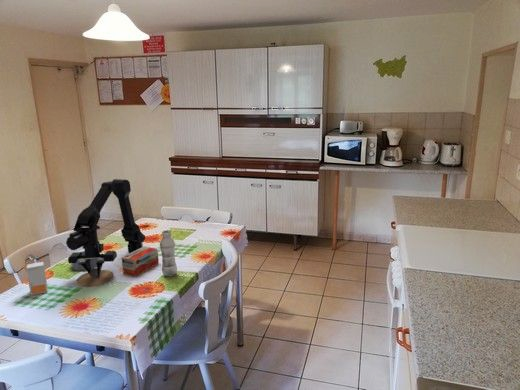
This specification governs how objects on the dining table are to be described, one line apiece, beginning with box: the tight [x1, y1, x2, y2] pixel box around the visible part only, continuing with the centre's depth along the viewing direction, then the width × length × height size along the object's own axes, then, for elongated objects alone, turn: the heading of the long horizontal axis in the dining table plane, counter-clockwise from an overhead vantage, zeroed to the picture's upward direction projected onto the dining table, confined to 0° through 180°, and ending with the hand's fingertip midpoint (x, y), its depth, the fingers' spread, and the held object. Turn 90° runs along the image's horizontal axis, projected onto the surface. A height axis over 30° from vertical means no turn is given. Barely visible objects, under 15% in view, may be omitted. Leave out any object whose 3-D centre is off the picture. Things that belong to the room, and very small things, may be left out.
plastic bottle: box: [159, 230, 178, 277], centre depth 167 cm, size 6×7×20 cm
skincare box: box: [26, 261, 48, 296], centre depth 154 cm, size 6×4×12 cm
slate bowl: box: [71, 250, 98, 272], centre depth 180 cm, size 12×12×5 cm
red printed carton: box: [121, 245, 160, 277], centre depth 175 cm, size 15×8×8 cm, turn 154°
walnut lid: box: [76, 267, 115, 288], centre depth 166 cm, size 15×15×4 cm
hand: (95, 275), depth 166 cm, fingers closed on walnut lid, 3 cm apart
